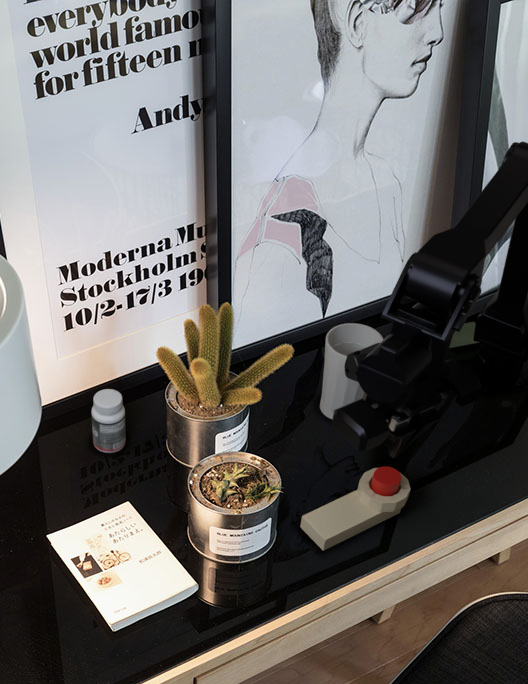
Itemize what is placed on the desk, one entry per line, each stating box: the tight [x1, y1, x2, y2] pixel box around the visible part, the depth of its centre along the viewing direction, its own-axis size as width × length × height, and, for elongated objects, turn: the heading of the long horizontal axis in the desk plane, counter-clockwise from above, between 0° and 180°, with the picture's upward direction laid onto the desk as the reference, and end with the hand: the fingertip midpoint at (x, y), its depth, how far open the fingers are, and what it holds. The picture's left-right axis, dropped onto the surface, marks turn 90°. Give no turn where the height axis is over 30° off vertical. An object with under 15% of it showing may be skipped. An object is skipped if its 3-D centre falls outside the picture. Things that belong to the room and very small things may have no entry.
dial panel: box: [445, 321, 481, 362], centre depth 147 cm, size 15×8×3 cm, turn 105°
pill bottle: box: [90, 388, 127, 454], centre depth 134 cm, size 5×5×8 cm
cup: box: [319, 322, 384, 420], centre depth 136 cm, size 8×8×12 cm
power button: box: [371, 466, 402, 496], centre depth 125 cm, size 4×4×2 cm
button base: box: [299, 467, 411, 552], centre depth 125 cm, size 15×6×4 cm, turn 121°
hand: (393, 455), depth 121 cm, fingers closed
